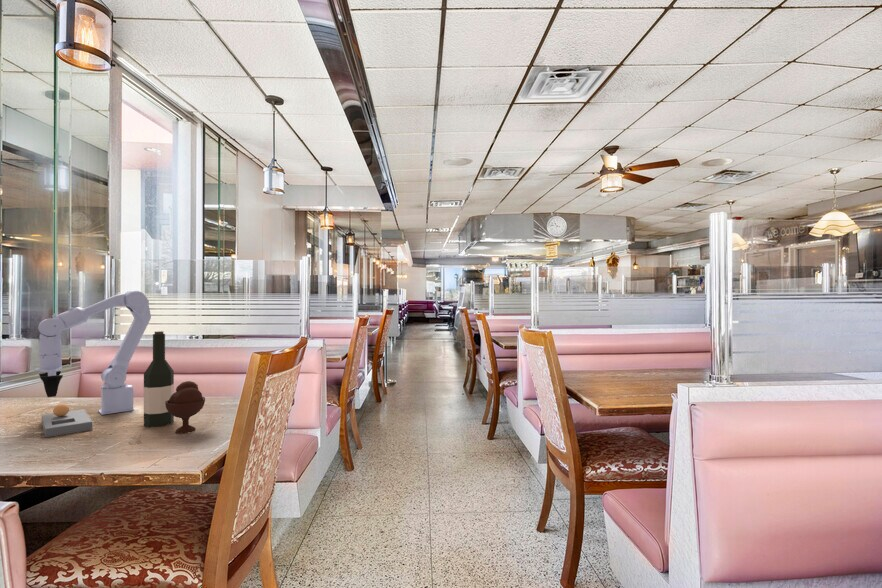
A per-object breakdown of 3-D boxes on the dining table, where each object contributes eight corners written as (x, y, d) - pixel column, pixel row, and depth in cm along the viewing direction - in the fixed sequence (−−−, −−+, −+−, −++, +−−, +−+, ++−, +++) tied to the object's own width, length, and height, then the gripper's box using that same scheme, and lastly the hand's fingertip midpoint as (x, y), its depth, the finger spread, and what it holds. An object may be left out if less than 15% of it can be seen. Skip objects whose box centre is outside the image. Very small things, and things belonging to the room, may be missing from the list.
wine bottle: (145, 429, 140) (145, 332, 141) (142, 423, 147) (142, 331, 147) (175, 424, 146) (176, 331, 146) (171, 418, 152) (171, 330, 152)
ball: (68, 414, 149) (68, 402, 149) (69, 416, 146) (69, 404, 146) (52, 416, 146) (52, 404, 146) (53, 418, 144) (53, 406, 144)
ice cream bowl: (159, 431, 138) (159, 382, 138) (198, 423, 146) (198, 377, 146) (170, 438, 131) (170, 387, 131) (211, 430, 139) (211, 381, 139)
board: (84, 416, 156) (84, 409, 156) (92, 429, 140) (92, 421, 140) (41, 422, 148) (41, 414, 148) (45, 437, 132) (45, 428, 132)
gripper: (33, 353, 153) (34, 393, 153) (35, 357, 143) (35, 400, 143) (60, 351, 158) (61, 390, 158) (64, 355, 148) (64, 396, 148)
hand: (51, 394), depth 151 cm, fingers open, 7 cm apart
